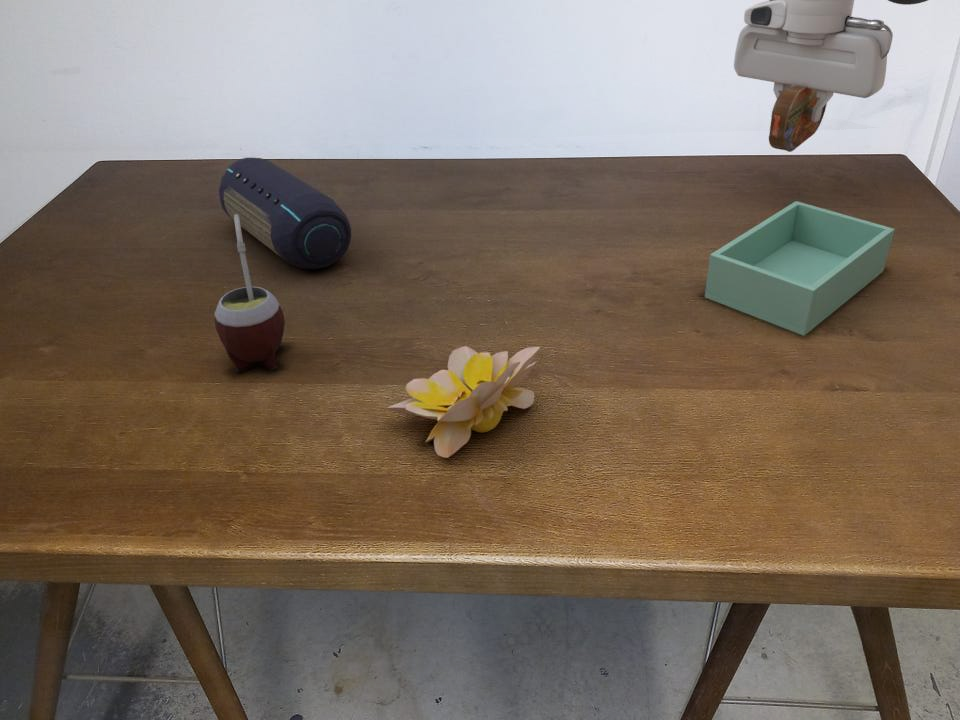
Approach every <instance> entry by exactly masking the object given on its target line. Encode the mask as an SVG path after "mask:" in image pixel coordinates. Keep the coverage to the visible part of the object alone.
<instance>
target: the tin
mask: <svg viewBox="0 0 960 720" xmlns="http://www.w3.org/2000/svg"><path fill="white" fill-rule="evenodd" d="M816 94H817V90H815V89H810V88H807V86H806V87H802V86H796V85H790V86H789V87H787V88H786V89H784V90H783V91H782V92H781V93H780V95H779V96H778V98H776V100H775V102H774V104H773V107H772V111H771V117H770V118H771V119H770V125H769V135H768V142H769V145H770V147H771V148H773V149H776V150H781V151H786V152H789V153H792V152H793V151H795V150H796V149H797V148H798V147H800V146H801V145H802V144H803V143H805V142H806V141H807V140H809V139H810V138H811V137H813V136H814V134H816V132H817V131H818V129H819V128H820V125H821V123H822V121H823V118H824V115H825V112H826V108H827V106H828V105H827V104H828V102H827V103H826V105H825V106H824V107H823V108H822V113H821V118H820V120H819V121H817V122H810V121H806V120H805V116H806V108H808V107H810V106H812V105H814V106H815V105H816V103H817V102H818V101H819V99H820V98H817V97H816Z"/></svg>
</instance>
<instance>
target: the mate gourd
mask: <svg viewBox="0 0 960 720" xmlns="http://www.w3.org/2000/svg"><path fill="white" fill-rule="evenodd" d="M233 222H234V229H235V234H236V235H235V236H236V242H237V243H236V248H237V253H239V259H240V262H241V269H242V272H243V273H242V274H243V277H244V284H245V286H243V287H239V288H235V289H233V290H230V291H228V292H226V293H225V294H224V295H223V296H222V297H221V298H220V299H219V301H218V303H217V306H216V309H215V311H214V326H215V330H216V332H217V335H218V337H219V340H220V342H221V343H222V345H223V347H224V349H225V351H226V354H227V356H228V358H229V359H230V361H231V363H232V365H234V367H235V368H234V369H233V373H235V374H236V375H239V374H241V373H244V372H245V371H247V370H249V369H251V368H252V367H255V366H257V365H261V366H263V367H265V368H266V369H269V370H270V371H272V372H276V371H277V370H279V369H280V365H278V364H277V363H276V354H277V353H279V352H281V351H282V350H284V345H283V344H282V340H283V336H284V332H285V325H286V322H285V321H286V320H285V315H284V313H283V309H282V308H281V305H280V302H279V300H278V299H277V298H276V297H275V296H274V294H273V293H271V292H270V291H269V290H267V289H265V288H263V287H259V286H253V285H252V281H251V276H250V271H249V265H248V260H247V256H246V251H247V249H246V244H245V242H244V240H243V235H242V227H241V226H240V219H239V215H238V214H235V215H234V220H233Z"/></svg>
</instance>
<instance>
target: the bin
mask: <svg viewBox="0 0 960 720" xmlns="http://www.w3.org/2000/svg"><path fill="white" fill-rule="evenodd" d="M894 234H895V228H893V227H889V226H886V225H882V224H879V223H875V222H872V221H868V220H866V219H865V220H864V219H861V218H859V217H854V216H851V215H846V214H844V213H840V212H836V211H833V210H830V209H825V208H822V207H819V206H815V205H812V204H808V203H804V202H802V201H797V200H795V201H794V202H792V203H791V204H789V205H787V206H786V207H783V209H781V210H779V211H777V212H776V213H775V214H773V215H771V216H769V217H768V218H766V219H765V220H763V221H761V222H760V223H758V224H757V225H755V226H753V227H752V228H750V229H749V230H747V231H745V232H744V233H743V234H742V233H741V235H739V236H737V237H736V238H734V239H733V240H731V241H729V242H728V243H726V244H724V245H723V246H721V247H720V248H718V249H717V250H715V251H713V252H712V253H710V254H709V259H708V268H707V276H706V282H705V289H704V298H705V299H709V300H711V301H713V302H716V303H719V304H721V305H724V306H726V307H729V308H732V309H734V310H737V311H738V312H742V313H743V314H747V315H750V316H752V317H755V318H758V319H760V320H762V321H765V322H767V323H770V324H773V325H775V326H777V327H780V328H783V329H786V330H788V331H791V332H792V333H796V334H798V335H801V336H806V335H807V334H808V333H809V332H811V331H812V330H813V329H814V328H816V327H817V326H818V325H819V324H821V323H822V322H823V321H824V320H825V319H827V318H828V317H829V316H831V314H833V313H835V311H837V310H838V309H839V308H840V307H841V306H843V305H845V303H846V302H848V301H849V300H850V299H852V298H853V297H854V296H855V295H856V294H858V293H859V292H860V291H861V290H862V289H864V288H865V287H866V286H867V285H869V284H870V283H871V282H872V281H874V280H875V279H876V278H877V277H878V276H880V275H881V274H882V273H884V271H885V267H886V264H887V259H888V256H889V252H890V248H891V245H892V241H893V237H894Z"/></svg>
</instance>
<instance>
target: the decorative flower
mask: <svg viewBox="0 0 960 720" xmlns="http://www.w3.org/2000/svg"><path fill="white" fill-rule="evenodd" d="M540 348H541V346H530V347H525V348H524V349H521V350H520V351H518V352H516V353H515V354H513V356H511V357H510V358H509V352H508V350H506V351H499V352H496V353H495V354H493V355H491V353H490V352H488V351H487V352H485V351H484V352H483V351H482V352H481V351H480V352H477V351H476V350H475V349H472V348H471V347H469V346H468V345H463V346H461V347H459V348H458V347H457V348H455V349H453V350H452V351H451V353H450V355H449V357H448V362H447V369H440V370H439V371H437V372H435V373H433V374H432V375H431V376H430V377H429V378H413V379H411V380H410V381H409V382H408V383H406V385H405V391H406V392H407V394H408V395H409V396H410V398H408V399H405V400H403V401H400V402H397V403H395V404H392V405H390V406H388V407H386V408H383V410H385V411H390V412H391V411H392V412H396V413H400V414H405V415H410V416H419V417H422V418H424V419H425V418H426V419H430V420H436V421H437V423H436V424H435V425H434V426H433V428H432V429H431V430H430V433H429V434H428V437H427V439H426V440H425V443H426V444H427V443H430V442H431V441H433V446H434V451H435V453H436V455H437V456H440V457H442V458H450V457H451V456H452V455H454V454H455V453H456V452H457V451H459V450H460V449H461V448H462V447H463V446H464V445H466V444H467V443H468V442H469V440H470V438H471V436H472V431H474V432H477V433H487V432H490V431H492V430H494V429H495V428H496V427H497V426H498V424H499V423H500V421H501V419H502V416H503V413H504V412H507V411H509V410H508V407H511V406H512V407H515V408H519V409H524V410H525V409H527V408H530V407H531V406H532V405H533V404H534V402H535V392H534V391H532V390H530V389H527V388H526V387H525V388H524V387H523V386H522V387H521V386H517V385H518V384H519V383H521V382H522V381H523V380H524V379H525V378H526V377H527V376H528V375H529V373H531V371H532V370H533V368H534V367H535V364H536V362H537V360H536V361H534V359H535V357H536V355H537V354H538V352H539V350H540ZM533 361H534V362H533Z"/></svg>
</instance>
